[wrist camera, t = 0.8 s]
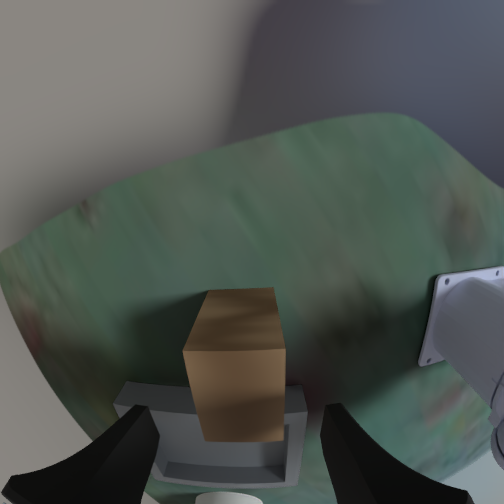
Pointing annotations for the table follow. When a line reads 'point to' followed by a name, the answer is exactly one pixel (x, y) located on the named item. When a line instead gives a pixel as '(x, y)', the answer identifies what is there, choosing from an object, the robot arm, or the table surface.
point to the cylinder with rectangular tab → (226, 498)
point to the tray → (216, 453)
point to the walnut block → (238, 366)
